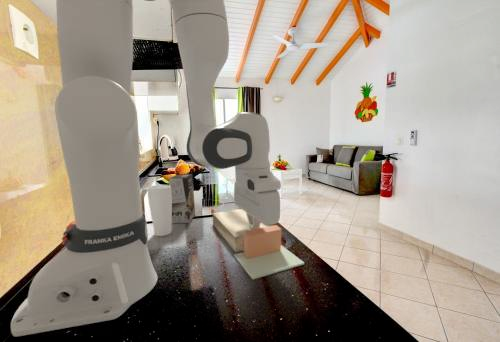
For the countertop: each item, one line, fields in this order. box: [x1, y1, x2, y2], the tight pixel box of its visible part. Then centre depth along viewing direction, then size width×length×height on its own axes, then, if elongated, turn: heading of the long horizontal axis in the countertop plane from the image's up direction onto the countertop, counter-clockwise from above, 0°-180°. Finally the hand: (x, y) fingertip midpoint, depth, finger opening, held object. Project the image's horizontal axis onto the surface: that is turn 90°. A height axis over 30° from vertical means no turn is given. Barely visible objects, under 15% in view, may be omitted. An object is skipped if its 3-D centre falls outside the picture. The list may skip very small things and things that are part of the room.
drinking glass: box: [147, 184, 173, 237], centre depth 73 cm, size 7×7×15 cm
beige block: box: [212, 208, 269, 253], centre depth 72 cm, size 11×22×4 cm, turn 24°
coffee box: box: [168, 173, 196, 224], centre depth 86 cm, size 9×6×16 cm
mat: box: [233, 244, 305, 280], centre depth 56 cm, size 13×11×1 cm
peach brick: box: [243, 224, 283, 259], centre depth 58 cm, size 9×6×2 cm
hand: (254, 230), depth 62 cm, fingers closed
